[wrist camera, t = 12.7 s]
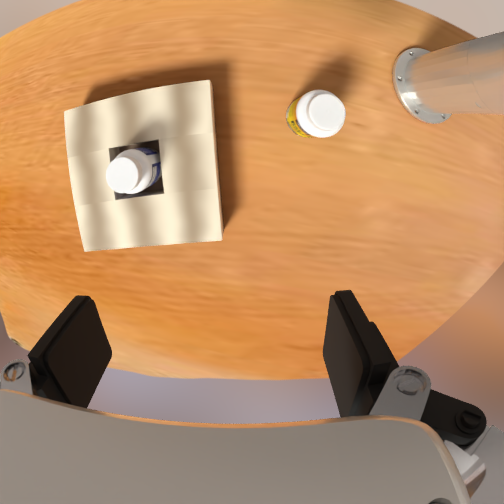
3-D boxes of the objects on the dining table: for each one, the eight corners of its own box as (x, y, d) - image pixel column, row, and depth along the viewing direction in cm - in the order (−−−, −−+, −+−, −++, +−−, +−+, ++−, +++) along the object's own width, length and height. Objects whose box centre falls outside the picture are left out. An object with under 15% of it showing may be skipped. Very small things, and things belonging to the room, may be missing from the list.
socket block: (213, 86, 33) (209, 79, 29) (223, 229, 41) (222, 240, 37) (79, 112, 33) (64, 111, 29) (97, 240, 41) (84, 251, 36)
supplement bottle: (277, 124, 36) (291, 119, 26) (297, 91, 34) (316, 75, 25) (313, 145, 37) (337, 147, 28) (332, 112, 35) (361, 104, 26)
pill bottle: (121, 161, 36) (92, 169, 27) (151, 139, 35) (127, 140, 27) (141, 193, 37) (116, 208, 29) (172, 172, 37) (153, 181, 28)
